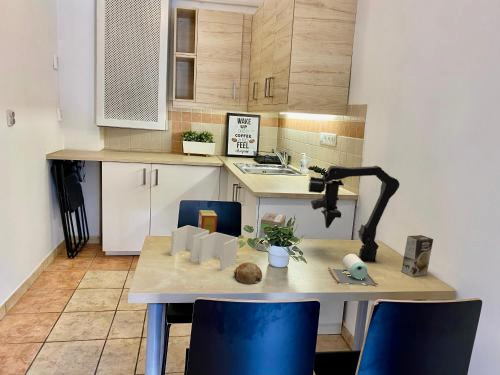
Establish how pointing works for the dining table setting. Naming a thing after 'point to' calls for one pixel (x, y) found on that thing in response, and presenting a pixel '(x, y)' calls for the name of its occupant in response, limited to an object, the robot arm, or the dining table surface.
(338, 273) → the mat
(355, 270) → the can
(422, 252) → the coffee box
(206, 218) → the baking soda box
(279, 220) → the tea box
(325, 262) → the dining table surface
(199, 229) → the zigzag folding screen
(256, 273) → the bread roll
